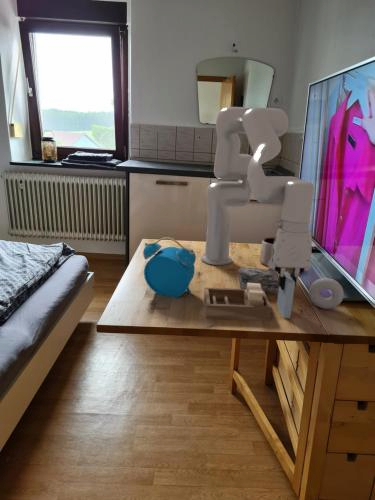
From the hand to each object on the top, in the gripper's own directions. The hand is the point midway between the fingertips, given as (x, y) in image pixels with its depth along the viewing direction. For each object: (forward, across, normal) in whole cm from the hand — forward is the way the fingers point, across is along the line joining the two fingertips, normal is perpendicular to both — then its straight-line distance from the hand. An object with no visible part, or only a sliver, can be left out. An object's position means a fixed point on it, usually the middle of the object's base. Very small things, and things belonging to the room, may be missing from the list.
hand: (286, 287), depth 110 cm
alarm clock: (+9, -34, +11) cm, 37 cm away
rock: (+9, -4, +15) cm, 18 cm away
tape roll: (+9, +14, +5) cm, 17 cm away
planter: (+9, +7, +44) cm, 46 cm away
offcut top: (+3, -9, 0) cm, 10 cm away
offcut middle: (+5, -9, 0) cm, 11 cm away
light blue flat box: (+9, 0, 0) cm, 9 cm away
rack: (+9, -14, 0) cm, 16 cm away
